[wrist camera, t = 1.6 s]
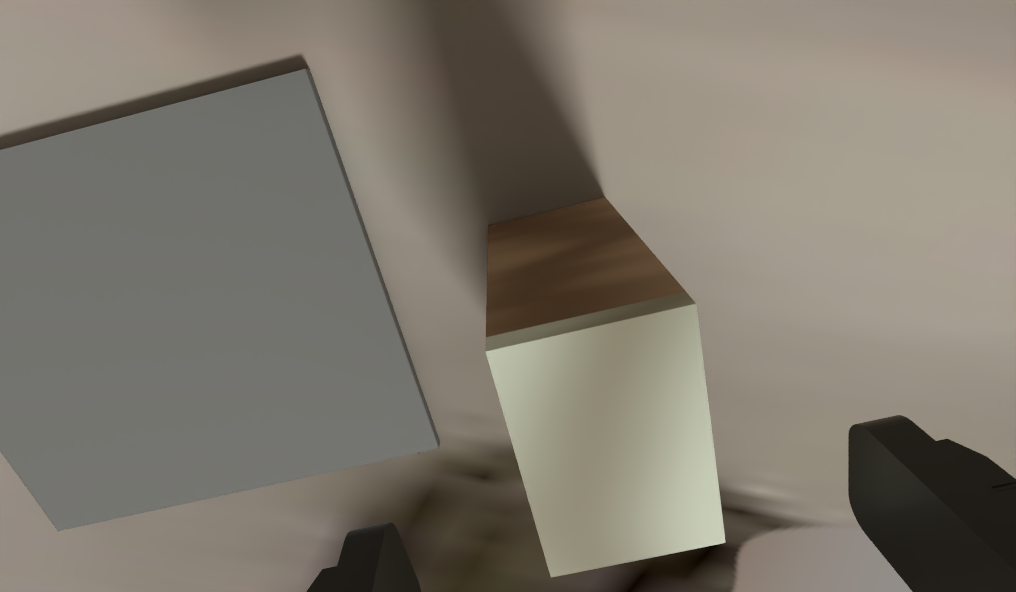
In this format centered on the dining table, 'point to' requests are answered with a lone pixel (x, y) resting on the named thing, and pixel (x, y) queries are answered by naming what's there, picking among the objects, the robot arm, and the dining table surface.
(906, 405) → the dining table surface
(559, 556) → the block
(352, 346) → the mat
